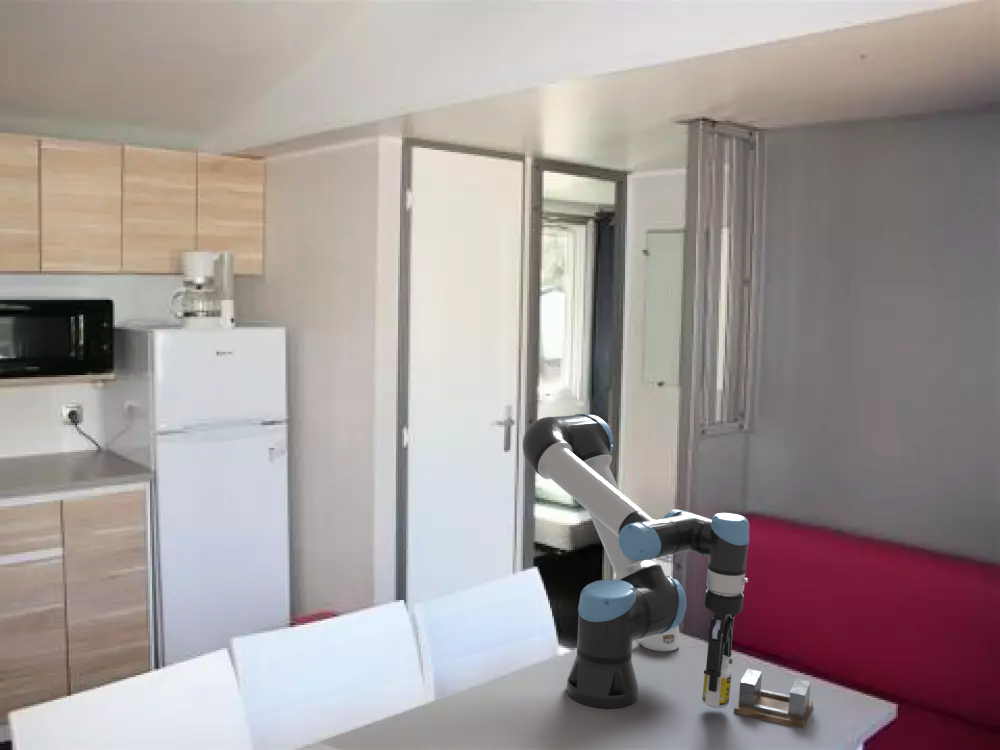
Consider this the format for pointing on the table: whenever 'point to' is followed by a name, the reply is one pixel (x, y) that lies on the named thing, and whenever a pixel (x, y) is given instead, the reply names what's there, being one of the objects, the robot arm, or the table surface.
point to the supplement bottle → (724, 684)
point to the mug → (662, 641)
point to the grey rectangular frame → (774, 695)
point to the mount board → (772, 717)
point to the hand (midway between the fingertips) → (715, 698)
